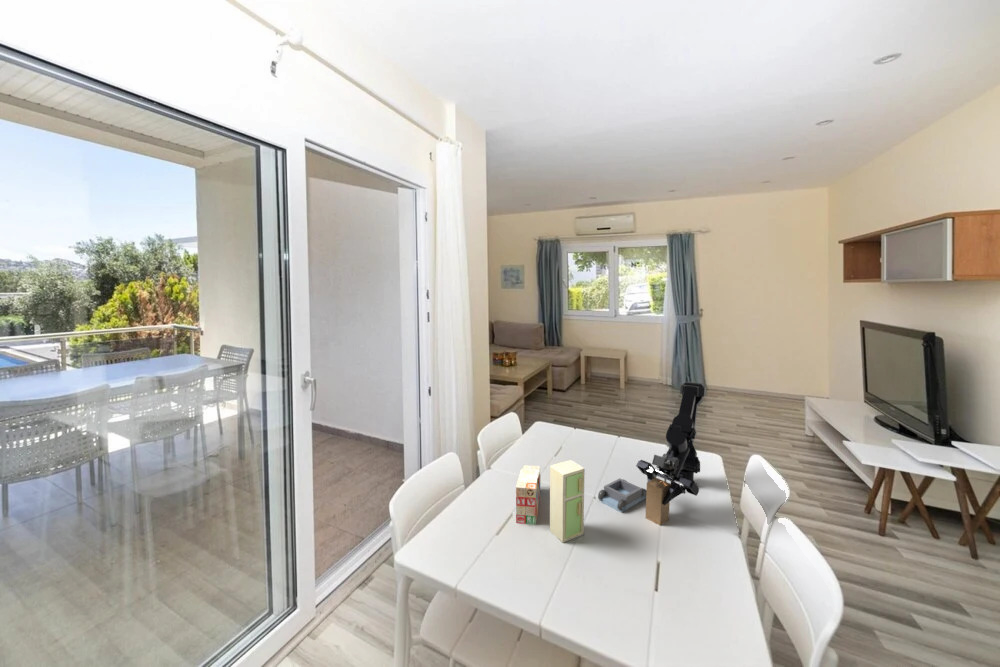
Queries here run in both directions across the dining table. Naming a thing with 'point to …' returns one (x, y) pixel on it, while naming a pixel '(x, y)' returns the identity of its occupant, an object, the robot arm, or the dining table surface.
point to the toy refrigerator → (567, 500)
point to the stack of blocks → (528, 495)
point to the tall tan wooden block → (657, 501)
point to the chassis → (621, 495)
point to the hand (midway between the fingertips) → (655, 500)
